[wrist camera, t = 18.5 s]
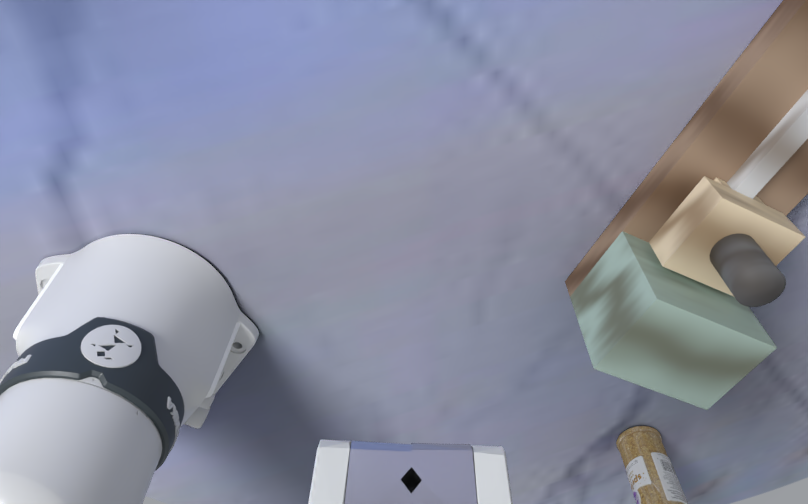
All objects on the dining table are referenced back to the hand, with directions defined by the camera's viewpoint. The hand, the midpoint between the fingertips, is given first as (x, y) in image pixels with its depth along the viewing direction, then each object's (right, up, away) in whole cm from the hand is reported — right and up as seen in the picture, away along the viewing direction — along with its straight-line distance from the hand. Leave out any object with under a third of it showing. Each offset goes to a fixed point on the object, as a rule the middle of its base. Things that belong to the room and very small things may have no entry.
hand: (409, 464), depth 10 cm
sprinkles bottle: (+24, -16, +52) cm, 60 cm away
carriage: (+22, +6, +34) cm, 41 cm away
